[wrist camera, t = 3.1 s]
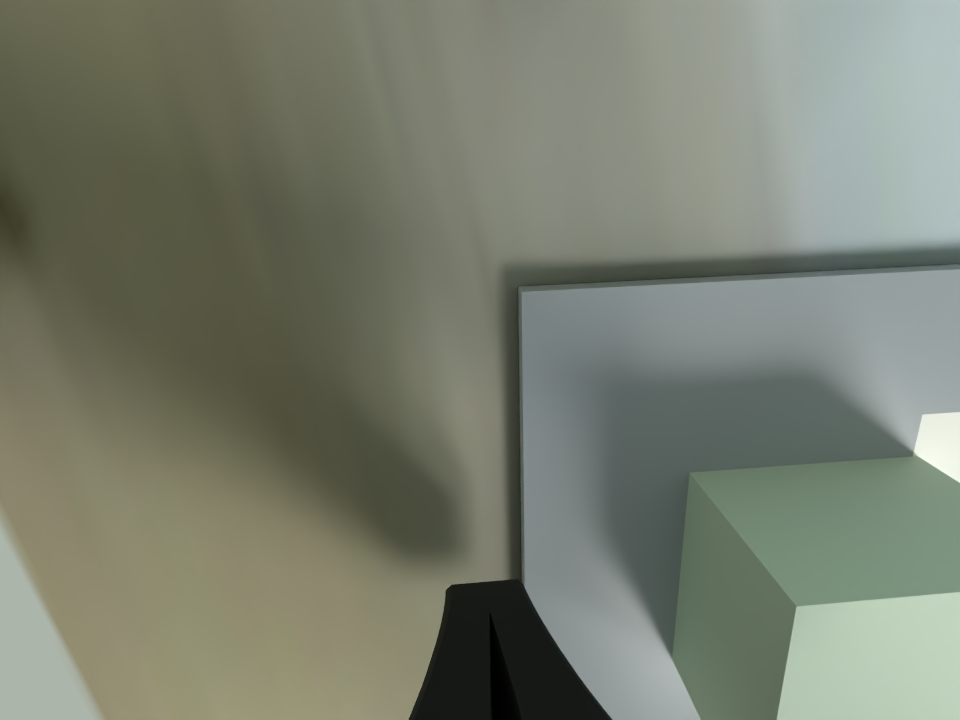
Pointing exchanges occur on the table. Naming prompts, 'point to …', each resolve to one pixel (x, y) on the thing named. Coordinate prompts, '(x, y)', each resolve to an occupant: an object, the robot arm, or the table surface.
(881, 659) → the green block
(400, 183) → the table surface
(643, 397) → the plate
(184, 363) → the table surface
